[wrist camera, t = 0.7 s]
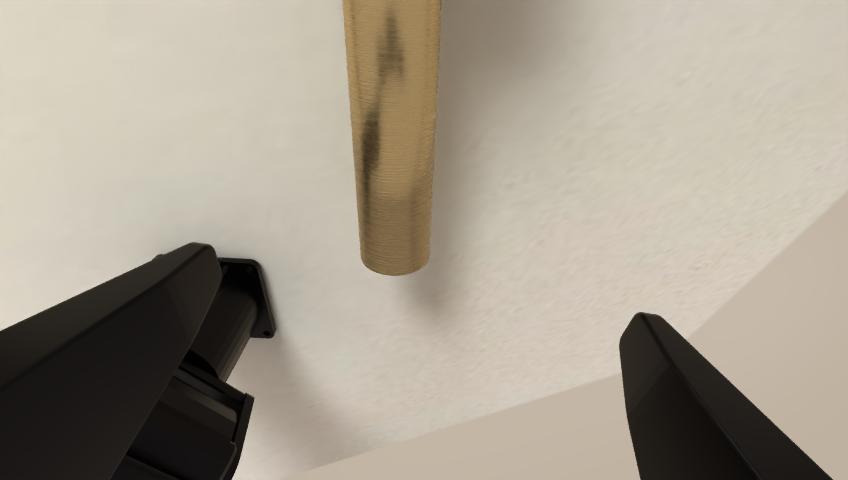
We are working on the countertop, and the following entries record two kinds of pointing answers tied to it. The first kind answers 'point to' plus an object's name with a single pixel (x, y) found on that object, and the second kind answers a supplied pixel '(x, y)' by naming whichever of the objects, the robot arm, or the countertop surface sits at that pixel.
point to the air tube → (393, 126)
